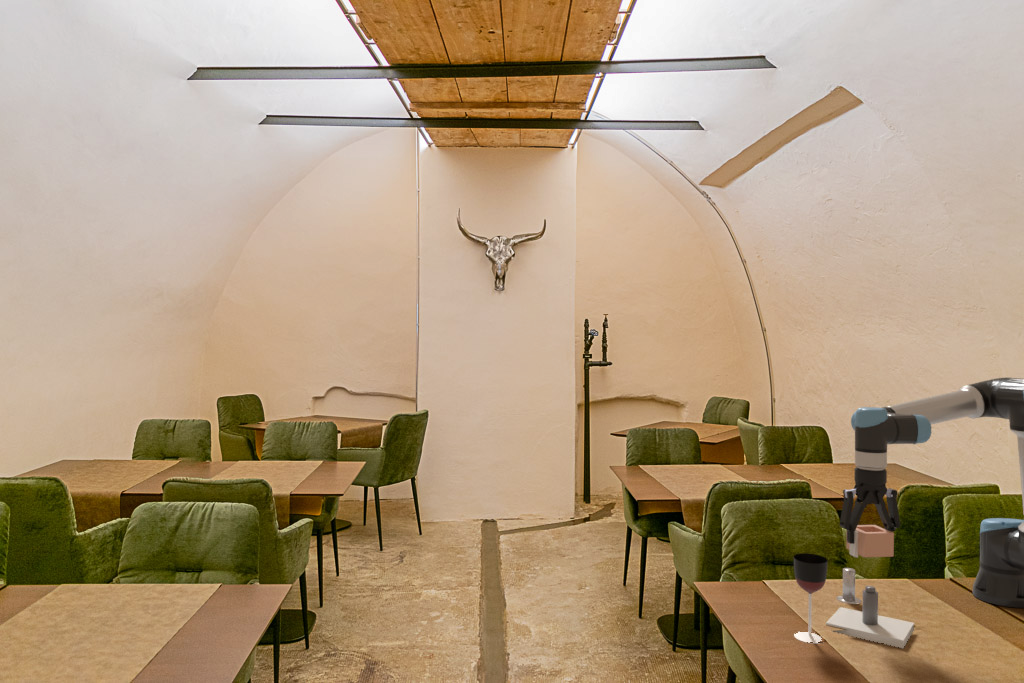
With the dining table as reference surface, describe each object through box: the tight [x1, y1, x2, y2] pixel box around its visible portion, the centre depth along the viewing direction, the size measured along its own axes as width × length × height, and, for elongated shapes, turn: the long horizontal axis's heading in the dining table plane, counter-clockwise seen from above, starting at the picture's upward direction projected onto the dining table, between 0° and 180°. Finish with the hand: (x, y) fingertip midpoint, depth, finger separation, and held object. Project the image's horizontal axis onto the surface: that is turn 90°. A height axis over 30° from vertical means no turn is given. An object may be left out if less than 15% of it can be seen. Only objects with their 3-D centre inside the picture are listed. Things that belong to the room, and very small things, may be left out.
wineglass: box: [793, 552, 828, 644], centre depth 189 cm, size 8×9×20 cm
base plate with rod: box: [825, 585, 915, 649], centre depth 193 cm, size 18×14×11 cm
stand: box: [835, 567, 863, 605], centre depth 211 cm, size 7×7×10 cm
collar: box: [845, 524, 895, 558], centre depth 193 cm, size 8×8×6 cm
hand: (869, 555), depth 193 cm, fingers closed on collar, 8 cm apart
